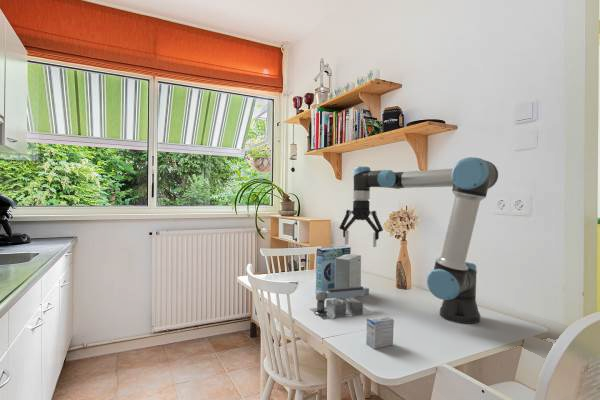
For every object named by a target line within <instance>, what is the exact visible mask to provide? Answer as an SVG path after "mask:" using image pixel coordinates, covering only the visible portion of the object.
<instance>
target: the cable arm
mask: <svg viewBox="0 0 600 400" xmlns="http://www.w3.org/2000/svg"><path fill="white" fill-rule="evenodd" d="M369 295H370V288H368V287H364V286H362V285H361V286H359V287H346V288H334V289H328V291H316V290H315V300H316V301H317V300H321V301H322V300H325V301H326V300H332V299H336V298H342V297H353V296H356V297H362V296H364V297H365V296H369Z"/></svg>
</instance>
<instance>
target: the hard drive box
mask: <svg viewBox="0 0 600 400" xmlns="http://www.w3.org/2000/svg"><path fill="white" fill-rule="evenodd" d="M361 277H362V255H361V254H352V253H350V254H346V255H343V256H340V257H337V258H335V288H346V287H359V286H362V278H361ZM356 297H357V296H353V297H342V298H335V299H337V300H340V301H343V299H344V298H356Z"/></svg>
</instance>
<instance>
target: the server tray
mask: <svg viewBox="0 0 600 400" xmlns="http://www.w3.org/2000/svg"><path fill="white" fill-rule="evenodd" d="M325 301H326V300H322V301H321V300H316V302H317V303H316V307H315V308H313V307H312V308H309V310H310V311H311V312H313V313H314V315H316V316H318V317H320V318H321V320H333V319H340V318H341V319H343V318H349V317H350V318H351V317H359V316H369V315H375V314H376V312H374V311H372V310H370V309H368V308H367V307H365V306H363V312H361V313H353V314H352V313H350V312H349V311H347V310H346V314H344V315H333V314H332V313H331V312H329V311H328V310H326V306H325ZM376 315H377V314H376Z"/></svg>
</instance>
